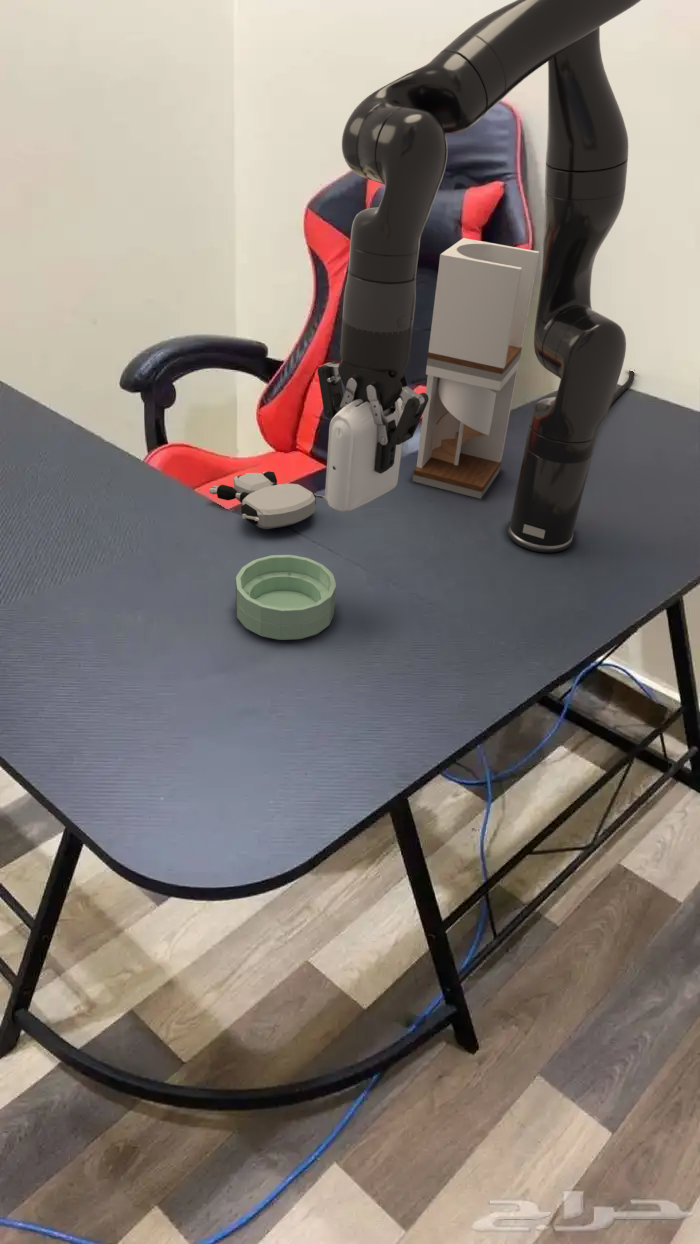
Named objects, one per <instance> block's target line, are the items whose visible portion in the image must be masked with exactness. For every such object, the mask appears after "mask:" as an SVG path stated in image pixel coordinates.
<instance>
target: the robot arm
mask: <svg viewBox="0 0 700 1244" xmlns="http://www.w3.org/2000/svg"><path fill="white" fill-rule="evenodd" d="M641 1H642V0H515V1H513V2H511V3H509V4H506V5H505V6H503V7H500V8H499V9H497V10H494V11H493V12H491V13H488V14H487V15H486V16H483V17H482V18H481V19H479V20H477V21H476V22H475V23H473V24H471V26H469V27H468V28H467V29H465V30H464V31H463V32H462V33H461V34H459V35H458V36H457V37H456V38H455V39H453V40H452V41H451V42H450V43H449V44H448V45H447V46H446V47H444V48H443V49H442V50H441V51H440V52H439V53H438V54H436V56H435V57H433V58H432V59H431V61H429V62H428V63H427V64H425V65H423V66H421V67H419V68H417V69H414V70H412V71H410V72H407V73H406V74H404V75H402V76H400V77H398V78H397V79H395V80H393V81H391V82H389V83H387V84H386V85H384V86H381V87H380V88H378V89H376V90H375V91H374V92H371V93H370V94H369V95H368V96H366V98H364V99H363V100H362V101H361V102H360V103H358V104H357V106H356V107H355V108H354V109H353V111H352V112H351V114H350V115H349V117H348V119H347V121H346V123H345V125H344V128H343V132H342V136H341V152H342V156H343V159H344V161H345V163H346V165H347V166H348V167H349V169H350V170H351V171H352V172H353V173H354V174H356V175H358V176H360V177H361V178H364V179H366V180H369V181H373V182H376V183H379V184H381V185H384V190H383V195H382V197H381V201H380V203H379V205H378V207H369V208H366V209H363V210H361V211H360V212H358V213H357V214H356V215H355V217H354V219H353V221H352V225H351V231H350V244H349V255H348V256H349V258H348V270H347V279H346V282H345V288H344V293H343V304H342V305H343V306H342V316H341V317H342V320H341V332H340V348H339V355H340V358H341V361H340V362H339V363H338V362H337V361H335V360H333V361H331V362H327V363H324V364H323V365H321V366H318V367H317V376H318V383H319V389H320V396H321V401H322V407H323V413H324V416H325V417H326V418H327V419H329V420H330V419H332V418H333V417H334V416H335V415H336V414H337V413H338V412H339V411H340V410H341V409H342V408H344V407H345V406H346V405H348V404H349V403H351V402H353V401H354V400H357V399H361V400H362V401H363V403H364V402H369V403H370V406H371V413H372V416H373V419H374V423H375V425H377V433H378V439H379V443H377V451H376V460H375V472H378V473H380V474H382V473H383V472H385V471H387V470H388V469H389V468H390V467H392V466H393V464H394V458H395V451H396V445H399V444H401V443H402V444H403V443H405V442H407V441H408V440H410V439H412V438H414V436H415V432H416V431H417V428H418V425H419V423H420V421H421V419H422V418H423V412H424V410H425V407H426V405H427V403H428V400H429V398H428V395H427V394H426V392H420V393H417V392H416V391H414V390H413V389H412V388H411V387H409V384H408V378H407V375H406V370H407V368H408V365H409V361H410V353H411V348H412V347H411V346H412V336H413V329H414V321H415V320H414V319H415V311H416V303H417V302H416V301H417V271H418V262H419V256H420V255H419V254H420V248H421V247H420V246H421V238H422V233H423V232H424V228H425V225H426V223H427V221H428V218H429V217H430V213H431V210H432V208H433V206H434V202H435V199H436V197H437V194H438V191H439V188H440V186H441V183H442V180H443V177H444V174H445V172H446V166H447V161H448V141H447V135H446V134H459V133H462V132H465V131H467V130H469V129H470V128H471V127H473V126H474V125H475V124H476V123H477V122H479V121H480V120H481V119H482V118H483V117H484V116H485V115H486V114H488V113H489V112H490V111H491V110H492V109H493V108H494V107H495V106H496V105H497V104H499V102H501V101H502V100H503V99H504V98H505V97H506V96H508V94H509V93H511V92H512V91H513V90H514V89H515V88H516V87H518V85H520V84H521V83H522V82H523V81H524V80H525V79H527V78H528V77H530V75H532V74H533V73H535V71H537V70H539V69H540V68H541V67H543V65H545V64H546V63H547V134H546V135H547V137H546V150H545V151H546V153H545V170H544V171H545V173H544V174H545V175H544V176H545V177H544V224H543V225H544V226H543V227H544V228H543V241H542V242H543V243H542V244H543V245H542V267H541V276H540V285H539V294H538V300H537V306H536V315H535V321H534V332H533V349H534V354H535V356H536V359H537V360H538V362H539V363H540V365H541V366H542V367H543V368H544V369H545V370H547V371H549V373H551V374H553V375H555V376H556V377H558V378H559V379H560V381H559V385H558V389H557V392H556V394H555V396H551V397H546V398H543V399H540V400H538V401H537V402H536V403H535V404H534V405H533V407H532V411H531V414H530V420H529V425H528V430H527V435H526V440H525V444H524V449H523V450H524V451H523V456H522V461H521V465H520V471H519V476H518V481H517V487H516V491H515V497H514V502H513V506H512V511H511V517H510V521H509V524H508V528H507V534H508V537H509V538H510V539H511V541H512V542H514V543H515V544H517V545H518V546H520V547H522V548H524V549H527V550H530V551H533V552H538V553H559V552H562V551H565V550H566V549H568V548H570V546H571V545H572V543H573V538H574V531H575V527H576V523H577V519H578V515H579V511H580V507H581V503H582V498H583V495H584V492H585V491H584V490H585V486H586V482H587V477H588V474H589V469H590V466H591V461H592V457H593V452H594V448H595V444H596V440H597V436H598V433H599V429H600V426H601V424H602V423H603V422H604V420H605V419H606V417H607V415H608V414H609V411H610V408H611V406H612V405H613V404H614V402H616V400H617V399H618V398H619V397H620V396H621V395H622V394H623V393H624V392H625V391H626V390H627V389H628V388H629V387H630V386H631V385H632V383H633V381H634V378H635V373H634V372H633V371H630V369H629V370H628V374H629V375H628V378H627V380H626V382H625V383H623V384H622V385H621V386H620V387H621V388H620V387H619V388H618V389H617V386H618V383H619V380H620V377H621V374H622V370H623V367H624V362H625V358H626V351H627V339H626V333H625V332H624V329H623V328H622V327H621V325H619V324H618V323H617V322H616V321H614V320H613V319H610V318H609V317H607V316H604V315H603V314H601V313H599V312H598V311H595V310H593V308H592V301H591V290H592V289H591V287H592V276H593V275H592V274H593V267H594V263H595V259H596V256H597V254H598V252H599V250H600V248H601V247H602V245H603V243H604V241H605V240H606V238H607V237H608V235H609V233H610V231H612V228H613V226H614V224H615V223H616V220H617V219H618V217H619V215H620V213H621V210H622V207H623V205H624V201H625V195H626V194H625V193H626V186H627V176H628V175H627V174H628V173H627V172H628V161H629V159H628V158H629V136H628V130H627V127H626V123H625V120H624V117H623V114H622V111H621V109H620V106H619V104H618V101H617V99H616V95H615V93H614V91H613V88H612V86H611V83H610V81H609V77H608V75H607V72H606V69H605V66H604V62H603V57H602V51H601V39H600V37H601V35H600V34H601V33H600V32H601V30H600V29H601V26H603V25H605V24H606V23H608V22H609V21H611V20H613V19H615V18H616V17H618V16H620V15H622V14H623V13H625V12H627V11H628V10H630V9H631V8H633V7H634V6H636V5H637V4H638V3H640V2H641ZM343 387H344V389H345V391H344V389H343ZM623 388H624V389H623ZM616 389H617V390H616ZM399 398H401V400H402V401H403V402H402V406H401V409H402V410H403V413H402V415H401V418H400V420H399V422H398V417H399V408H398V401H397V400H398V399H399ZM387 409H389V412H388V413H386V414H383V411H385V410H387Z"/></svg>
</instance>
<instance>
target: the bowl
mask: <svg viewBox="0 0 700 1244" xmlns="http://www.w3.org/2000/svg"><path fill="white" fill-rule="evenodd" d="M336 596H337V582H336V579H335V575H334V573H332V572H331V570H330V569H328V568H327V567H326V565H324V564H322V563H320V562H318V561H316V560H313V559H311V558H310V557H304V556H300V555H294V554H271V555H267V556H264V557H259V558H256V559H253V560H251V561H250V562H248V563H247V564H245V565H244V566H241V568H240V570H239V572H238V573H237V575H236V577H235V613H236V619H237V620H239V622H240V623H241V624H242V626H243V627H244V628H245V629H246V630H249V631H250V632H253V633H254V634H256V635H259V636H260V637H264V638H269V639H272V640H273V639H274V640H278V641H280V640H281V641H285V640H302V639H305V638H309V637H312V636H315V635H318V634H320V632H322V631H323V630H325V629H326V628H327V627H329V626H330V624H331V623H332V620H333V618H334V616H335V610H336V609H335V608H336Z"/></svg>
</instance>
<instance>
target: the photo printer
mask: <svg viewBox="0 0 700 1244" xmlns="http://www.w3.org/2000/svg"><path fill="white" fill-rule="evenodd" d="M397 401H398V408H399V417H398V422H399V420H400V418H401V415H402V413H403V410H402V409H401V406H402V402H403V400H402V397H400V398H399V399H398V400H397ZM388 412H389V409H387V410H385V411H383V414H386V413H388ZM377 443H379V439H378V433H377V425H375V423H374V419H373V416H372V413H371V406H370V403H369V402H364V403H363V401H362V400H361V399H357V400H354V401H353V402H351V403H349V404H348V405H346V406H345V407H344V408H342V409H341V410H340V411H339V412H338V413H337V414H336V415H335V416H334V417H333V418H331V420H330V422H329V427H328V442H327V457H326V458H327V460H326V472H325V473H326V474H325V489H324V490H325V491H324V496H325V499H324V500H325V501H326V502H327V505H328V506H329V507H330V508H332V509H333V510H336V511H339V512H349V511H353V510H356V509H358V508H359V507H361V506H364V505H366V504H368V503H370V502H372V501H374V500H375V499H378V498H379V497H381V496H383V495H385V494H387V493H389V492H391V491H392V490H394V489H395V488H396V487H397V485H398V481H399V474H400V467H401V457H402V451H403V450H402V449H403V443H401V444H399V445H396V451H395V458H394V464H393V466H392V467H390V468H389V469H388V470H387V471H385V472H383V473H382V474H380V473H378V472H375V460H376V451H377Z"/></svg>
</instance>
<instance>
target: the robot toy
mask: <svg viewBox="0 0 700 1244" xmlns="http://www.w3.org/2000/svg"><path fill="white" fill-rule="evenodd" d="M208 492H209V493H210V494H211V495H216V497H217V499H219V500H224V501H232V500H235V499H236V500H237V501H238V502H239V503H240V504H242V505H241V507H240V508H241V509H240V511H241V518H242V519H244V520H246V521H247V522H249V523H250V524H252V525H254V526H256V527H257V528H260V529H263V530H269V529H270V530H271V529H276V528H277V529H278V528H282V527H288V526H292V525H295V524H297V523H299V522H302V521H305V520H306V519H307V518H309V517H310V516H312V515H313V514H314V513H315V512H316V504H317V498H318V499H319V498H320V499H324V500H326V499H325V495H321V494H315V493H314V492H312V491H311V490H309V488H306V487H304V486H302V485H300V484H299V483H280V484H278V479H277V476H276V473H275V472H274V471H272V470H270V471H263V472H262V473H261V472H244V474H240V475H235V476H234V477H233V486H230V485H226V484H220V485H213V486H211V487H210V488H209V489H208Z"/></svg>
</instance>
